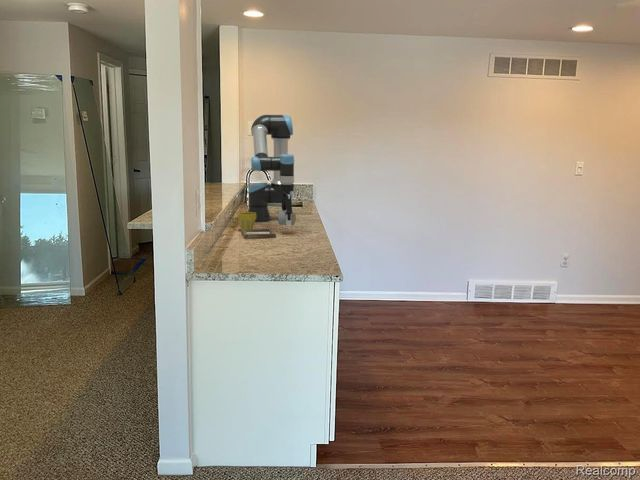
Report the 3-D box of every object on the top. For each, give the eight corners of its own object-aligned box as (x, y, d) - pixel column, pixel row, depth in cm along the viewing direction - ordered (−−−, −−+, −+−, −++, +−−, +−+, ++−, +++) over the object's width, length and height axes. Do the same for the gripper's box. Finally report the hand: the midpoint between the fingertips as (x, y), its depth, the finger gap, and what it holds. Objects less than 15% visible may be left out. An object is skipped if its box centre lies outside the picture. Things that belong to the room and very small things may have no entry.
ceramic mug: (292, 226, 276) (292, 212, 275) (277, 225, 278) (277, 211, 277) (298, 223, 287) (298, 209, 285) (284, 222, 289) (284, 208, 287)
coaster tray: (241, 233, 280) (241, 229, 280) (271, 232, 284) (271, 228, 284) (244, 239, 265) (244, 234, 264) (275, 238, 269) (275, 233, 268)
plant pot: (258, 229, 294) (258, 212, 292) (254, 232, 284) (254, 214, 282) (240, 228, 295) (240, 211, 293) (235, 231, 285) (235, 214, 283)
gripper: (276, 181, 287) (276, 220, 292) (283, 186, 265) (283, 228, 270) (289, 181, 289) (289, 220, 294) (298, 186, 267) (297, 228, 272)
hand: (286, 224), depth 282 cm, fingers closed on ceramic mug, 11 cm apart
